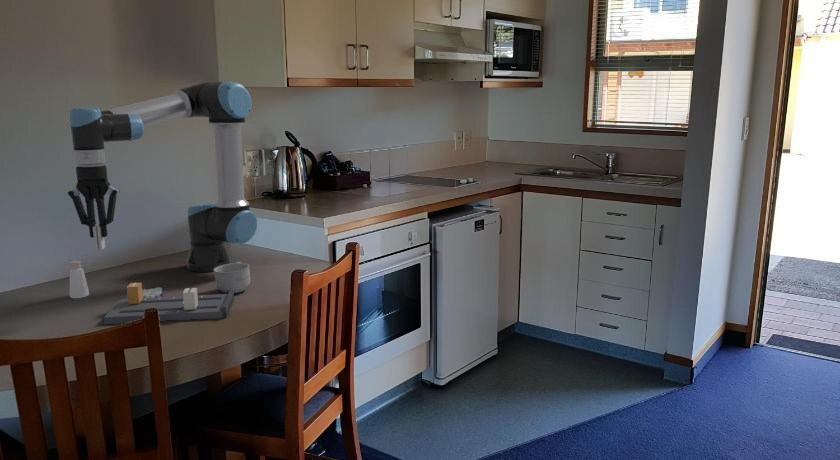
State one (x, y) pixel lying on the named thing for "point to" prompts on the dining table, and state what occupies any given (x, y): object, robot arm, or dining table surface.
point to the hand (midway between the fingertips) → (100, 248)
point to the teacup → (232, 277)
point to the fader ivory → (190, 298)
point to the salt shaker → (78, 281)
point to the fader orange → (134, 293)
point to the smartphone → (152, 292)
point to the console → (172, 308)
